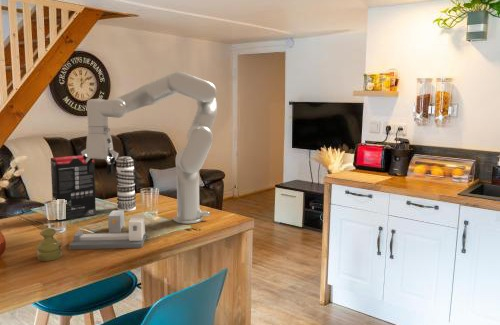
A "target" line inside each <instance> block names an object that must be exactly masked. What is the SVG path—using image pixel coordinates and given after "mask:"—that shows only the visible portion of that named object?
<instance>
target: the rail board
mask: <svg viewBox="0 0 500 325" xmlns="http://www.w3.org/2000/svg"><path fill="white" fill-rule="evenodd" d="M147 236H148V232H147V231H146V220H145V215H132V216H131V218H130V219H129V221H128V232H127V231H125V232H122V231H121V232H120V233H109V232H86V233H84V230H78V231H76V232H75V233H74V234H73V240H72V241H71V242H70V243H69V244H68V249H69V250H96V249H101V250H102V249H104V250H105V249H128V248H129V249H136V248H141V249H142V248H143V245H144V243H145V242H146V239H147Z"/></svg>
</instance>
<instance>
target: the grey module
mask: <svg viewBox="0 0 500 325" xmlns="http://www.w3.org/2000/svg"><path fill="white" fill-rule="evenodd" d="M107 222H108V223H107V224H108V233H120V232H122V229H124V228H126V227H125V211H124V210H118V209H117V210H112V211H111V212H110V213H109V215H108V216H107Z"/></svg>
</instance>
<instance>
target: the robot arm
mask: <svg viewBox="0 0 500 325" xmlns="http://www.w3.org/2000/svg"><path fill="white" fill-rule="evenodd" d="M217 93H218V92H217V87H216V86H215V85H214V83H212V82H210V81H208V80H205V79H202V78H200V77H197V76H194V75H191V74H189V73H187V72H184V71H181V70H180V71H179V70H178V71H174V72H171V73H169V74H167V75H165V76H162V77H160V78H157V79H155V80H153V81H150V82H148V83H145V84H143V85H141V86H140V87H138V88H137V89H134V90H132V91H130V92H127V93H125V94H123V95H120V96H118V97H115V98H111V99H102V98H91V99H88V100H87V101H86V110H87V111H86V112H87V116H86V117H87V132H88V133H87V135H86V143H85V144H86V145H85V147H86V148H84V149H83V150H82V151H80V155H82V156H83V158H84V160H85V162H86V163H87V172H88V173H90V172H93V171H94V172H95V162H94V163H93V162H92V161H93V159H94V160H105V161H106V163H107V164H106V174H107V175H112V174H115V173H114V164H115V163H116V162H117V161H116V160H117V159H118V158H119V152H117V151H116V150H114V145H113V138H112V136H111V134H110V133H109V132H110V131H111V128H110V127H109V122H108V121H109V119H108V118H113V119H116V118H117V119H120V118H123V117H125V116H126V114H129V113H131V112H134V111H136V110H138V109H141V108H144V107H148V106H151V105H155V104H158V103H160V102H162V101H164V100H167V99H169V98H171V97H173V96H176V95H178V94H180V95H182V96H186V97H189V98H191V99H193V100H195V101H196V104H197V108H196V112H195V115H194V118H193V120H192V122H191V125H190V127H189V129H188V130H187V133H186V139H187V142H186V145H185V147H183V148H181V149H179V150H178V151H177V153H176V154H175V170H176V203H177V204H176V209H177V210H176V211H177V213H176V214H177V215H175V216H174V217H173V221H174V222H175V223H177V224H184V225H186V224H197V223H200V222H202V221H203V220H204V217H210V214H211V213H210V211H207V210H201V207H200V174H199V171H200V170H201V169H202V168H203V165H204V163H205V161H206V159H207V156H208V154H209V152H210V150H211V147H212V144H213V141H214V134H213V132H212V129H213V126H214V123H215V121H216V118H217V115H218V102H217V98H216V97H217Z"/></svg>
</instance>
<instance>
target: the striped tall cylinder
mask: <svg viewBox="0 0 500 325" xmlns="http://www.w3.org/2000/svg"><path fill="white" fill-rule="evenodd" d="M115 162H116V171H115V173H114V174H115V178H116V179H115V182H116V183H115V185H116V187H117V194H116V197H117V198H116V201H117V202H116V204H117V206H116V208H117V210H124V212H131V211H135V210H136V209H137V207H136V206H137V204H136V203H137V200H136V191H135V185H136V182H135V180H136V175H135V174H134V173H136V168H135V166H134V159H133V158H132V157H131V156H127V155H125V156H118V157H117V160H116V161H115Z"/></svg>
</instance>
